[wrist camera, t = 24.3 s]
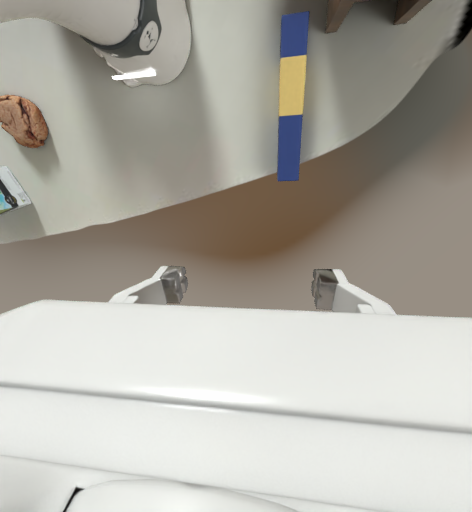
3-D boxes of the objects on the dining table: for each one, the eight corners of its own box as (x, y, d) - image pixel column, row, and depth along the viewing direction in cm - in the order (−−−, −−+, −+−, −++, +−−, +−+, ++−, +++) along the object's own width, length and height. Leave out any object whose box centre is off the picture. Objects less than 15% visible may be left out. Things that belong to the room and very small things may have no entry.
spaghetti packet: (296, 177, 47) (298, 180, 44) (277, 178, 47) (277, 181, 44) (306, 22, 36) (309, 10, 33) (280, 25, 37) (281, 14, 33)
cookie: (1, 85, 47) (-16, 82, 44) (49, 108, 47) (36, 106, 45) (5, 135, 51) (-9, 134, 49) (49, 155, 52) (38, 156, 49)
